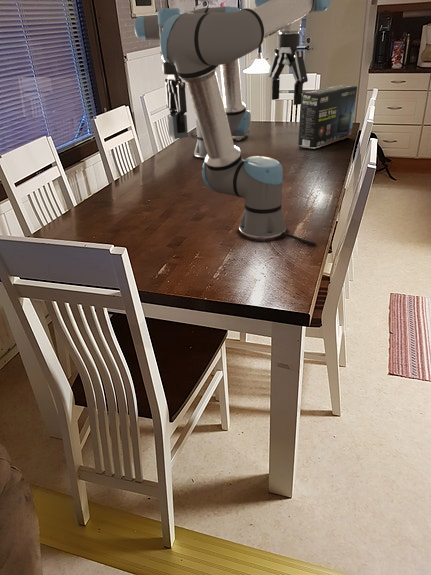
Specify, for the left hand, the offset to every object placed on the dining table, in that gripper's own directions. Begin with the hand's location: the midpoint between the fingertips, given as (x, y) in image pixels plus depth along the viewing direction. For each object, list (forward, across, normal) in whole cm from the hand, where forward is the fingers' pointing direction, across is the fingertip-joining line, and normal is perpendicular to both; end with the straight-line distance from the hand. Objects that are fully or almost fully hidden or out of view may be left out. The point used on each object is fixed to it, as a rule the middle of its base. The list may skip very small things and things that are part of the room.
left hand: (178, 130), depth 169 cm
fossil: (+26, -73, +62) cm, 100 cm away
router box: (+26, -34, +97) cm, 107 cm away
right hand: (-9, +19, +34) cm, 40 cm away
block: (+2, 0, 0) cm, 2 cm away
